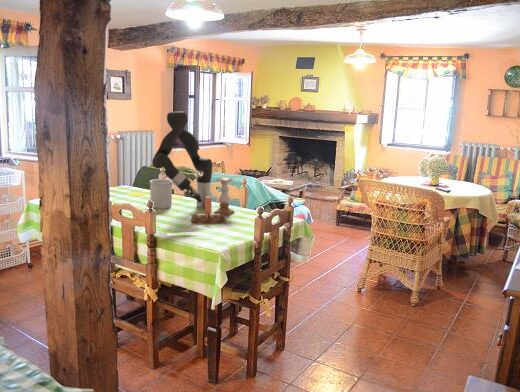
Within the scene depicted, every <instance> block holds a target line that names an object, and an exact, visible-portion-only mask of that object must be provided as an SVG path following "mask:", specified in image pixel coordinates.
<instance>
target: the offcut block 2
mask: <svg viewBox="0 0 520 392" xmlns="http://www.w3.org/2000/svg"><path fill="white" fill-rule="evenodd" d="M209 218H220V214H214V213H211V214H209Z"/></svg>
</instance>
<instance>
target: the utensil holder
mask: <svg viewBox="0 0 520 392" xmlns="http://www.w3.org/2000/svg"><path fill="white" fill-rule="evenodd" d="M149 187H150V188H149V190H150V192H149V194H150V201H151V200H152V201H153V202H154V208H153V209H160V210H162V209H169V208H171V207H172V204H173V203H172V200H173V199H172V198H173V182H172V180H171V179H169V178H168V179H167V178H155V179H151V180H149Z"/></svg>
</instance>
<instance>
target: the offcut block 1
mask: <svg viewBox="0 0 520 392" xmlns="http://www.w3.org/2000/svg"><path fill="white" fill-rule="evenodd" d="M197 218H208V214H205V213H197Z"/></svg>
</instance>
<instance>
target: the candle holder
mask: <svg viewBox="0 0 520 392" xmlns="http://www.w3.org/2000/svg"><path fill="white" fill-rule="evenodd" d="M216 181H217V182H220V184H221V187H220V190H221V193H220V196H219V198H218V202H219V203H220V204H219V205H218V206H219V208H218V209H216V210H215V211H214V213H213V214H224V217H230V216H233V214H236V212H235V211H234V209H231V208H230V204H229V203H230V201H231V197H230V196H229V194H228V191H229V187H228V185H229V183H230V182H233V181H234V178H233V177H217V178H216Z"/></svg>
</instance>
